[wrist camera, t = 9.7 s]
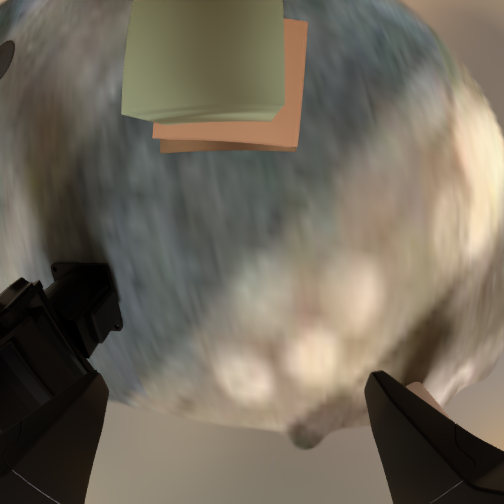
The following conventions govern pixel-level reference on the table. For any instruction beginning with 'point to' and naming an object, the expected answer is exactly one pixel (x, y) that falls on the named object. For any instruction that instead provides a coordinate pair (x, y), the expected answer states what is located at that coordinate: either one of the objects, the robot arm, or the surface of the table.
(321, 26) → the table surface
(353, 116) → the table surface
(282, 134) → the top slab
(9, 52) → the sundae
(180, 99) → the cube
